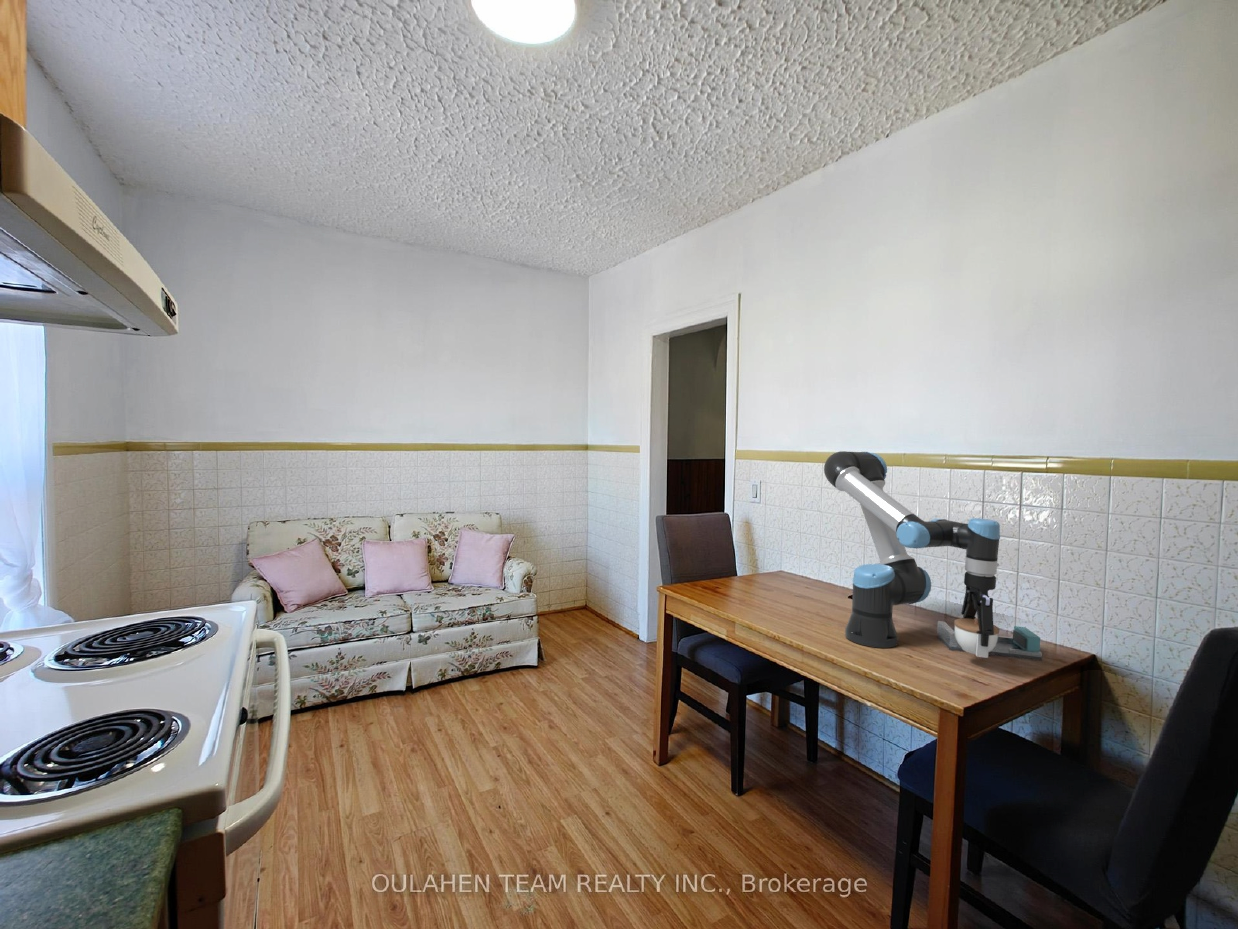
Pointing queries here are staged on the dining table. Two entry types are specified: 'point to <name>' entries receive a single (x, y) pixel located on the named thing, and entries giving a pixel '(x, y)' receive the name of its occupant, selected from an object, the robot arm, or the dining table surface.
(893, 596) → the robot arm
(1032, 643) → the block
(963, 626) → the lidded jar
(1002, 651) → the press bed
